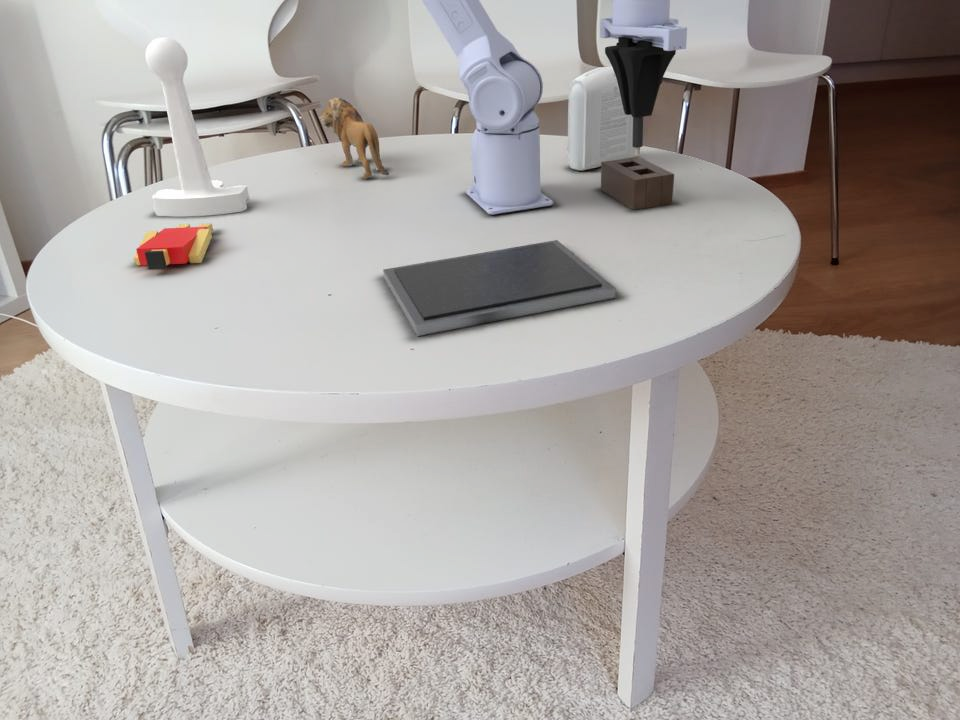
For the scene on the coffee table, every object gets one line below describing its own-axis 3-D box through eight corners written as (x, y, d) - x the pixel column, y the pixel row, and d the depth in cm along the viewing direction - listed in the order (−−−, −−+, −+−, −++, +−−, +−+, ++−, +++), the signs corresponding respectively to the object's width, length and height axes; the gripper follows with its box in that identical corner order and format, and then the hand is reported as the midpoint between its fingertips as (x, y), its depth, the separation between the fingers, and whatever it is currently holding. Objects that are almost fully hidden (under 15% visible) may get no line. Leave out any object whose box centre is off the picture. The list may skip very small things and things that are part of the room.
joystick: (151, 218, 94) (104, 42, 85) (172, 199, 101) (131, 34, 91) (242, 213, 94) (204, 37, 84) (257, 194, 101) (224, 29, 91)
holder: (633, 210, 88) (634, 179, 86) (600, 190, 95) (601, 161, 93) (672, 203, 89) (674, 173, 88) (636, 184, 96) (638, 156, 95)
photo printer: (619, 153, 109) (623, 60, 103) (641, 159, 106) (646, 63, 100) (562, 167, 105) (562, 71, 99) (583, 173, 102) (584, 75, 95)
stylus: (630, 155, 86) (631, 80, 82) (639, 153, 87) (641, 78, 83) (635, 157, 85) (637, 81, 81) (644, 155, 86) (646, 80, 82)
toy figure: (165, 218, 88) (118, 251, 77) (224, 216, 88) (186, 248, 77) (170, 239, 89) (124, 274, 78) (228, 237, 89) (191, 272, 78)
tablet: (384, 278, 74) (382, 267, 74) (557, 249, 79) (557, 237, 78) (417, 336, 64) (415, 323, 63) (615, 298, 68) (616, 285, 67)
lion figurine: (322, 162, 113) (312, 99, 109) (354, 155, 116) (346, 93, 111) (372, 183, 103) (364, 113, 98) (406, 174, 105) (399, 106, 101)
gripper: (718, -28, 72) (708, 121, 79) (641, -30, 84) (638, 99, 91) (651, -21, 70) (646, 131, 77) (582, -24, 83) (583, 107, 89)
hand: (638, 114), depth 84 cm, fingers closed on stylus, 1 cm apart
